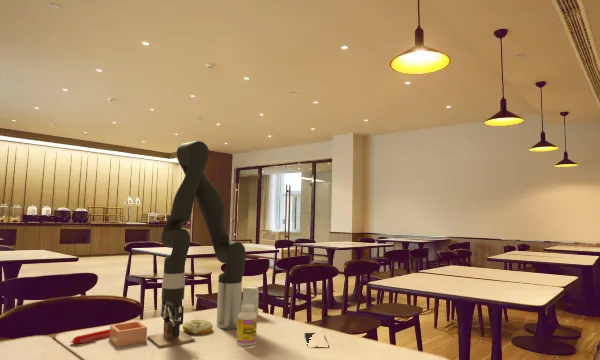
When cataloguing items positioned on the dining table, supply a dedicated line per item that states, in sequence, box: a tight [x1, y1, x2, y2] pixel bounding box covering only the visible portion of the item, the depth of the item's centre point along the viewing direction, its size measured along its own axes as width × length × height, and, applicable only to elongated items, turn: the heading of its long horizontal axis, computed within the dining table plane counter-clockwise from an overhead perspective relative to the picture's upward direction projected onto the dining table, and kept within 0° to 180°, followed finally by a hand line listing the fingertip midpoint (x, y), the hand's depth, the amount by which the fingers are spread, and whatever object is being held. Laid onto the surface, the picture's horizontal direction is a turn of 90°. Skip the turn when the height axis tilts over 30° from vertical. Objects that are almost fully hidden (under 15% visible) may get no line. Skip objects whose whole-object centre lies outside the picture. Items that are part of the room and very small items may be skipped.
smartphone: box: [303, 332, 316, 347], centre depth 141 cm, size 7×1×15 cm
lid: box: [147, 320, 196, 349], centre depth 138 cm, size 12×12×6 cm
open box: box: [108, 320, 148, 347], centre depth 136 cm, size 10×10×5 cm
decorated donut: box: [182, 319, 214, 335], centre depth 149 cm, size 10×11×4 cm
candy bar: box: [69, 328, 110, 345], centre depth 137 cm, size 16×4×3 cm, turn 143°
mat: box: [146, 337, 197, 350], centre depth 137 cm, size 13×13×1 cm
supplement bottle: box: [236, 304, 258, 347], centre depth 137 cm, size 7×7×13 cm
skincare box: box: [242, 285, 259, 316], centre depth 175 cm, size 6×4×12 cm
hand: (171, 333), depth 137 cm, fingers open, 8 cm apart
